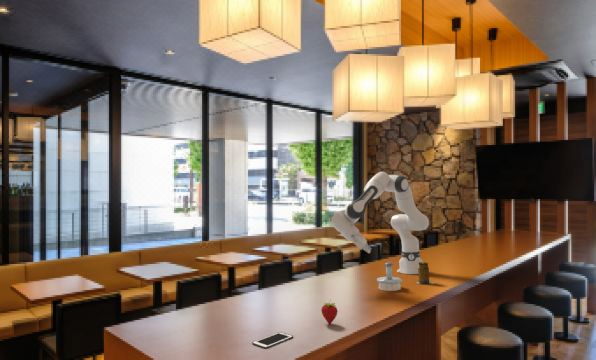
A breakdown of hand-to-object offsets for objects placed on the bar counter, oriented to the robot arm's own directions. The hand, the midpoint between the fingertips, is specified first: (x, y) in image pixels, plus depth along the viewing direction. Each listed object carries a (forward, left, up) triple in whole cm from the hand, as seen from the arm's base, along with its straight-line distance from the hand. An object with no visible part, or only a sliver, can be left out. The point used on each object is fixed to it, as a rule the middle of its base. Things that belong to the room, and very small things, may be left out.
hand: (370, 251), depth 228 cm
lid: (+1, +10, -16) cm, 19 cm away
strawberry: (+67, -14, -21) cm, 72 cm away
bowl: (+1, +10, -21) cm, 23 cm away
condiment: (-14, +31, -21) cm, 39 cm away
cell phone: (+89, -32, -21) cm, 97 cm away
